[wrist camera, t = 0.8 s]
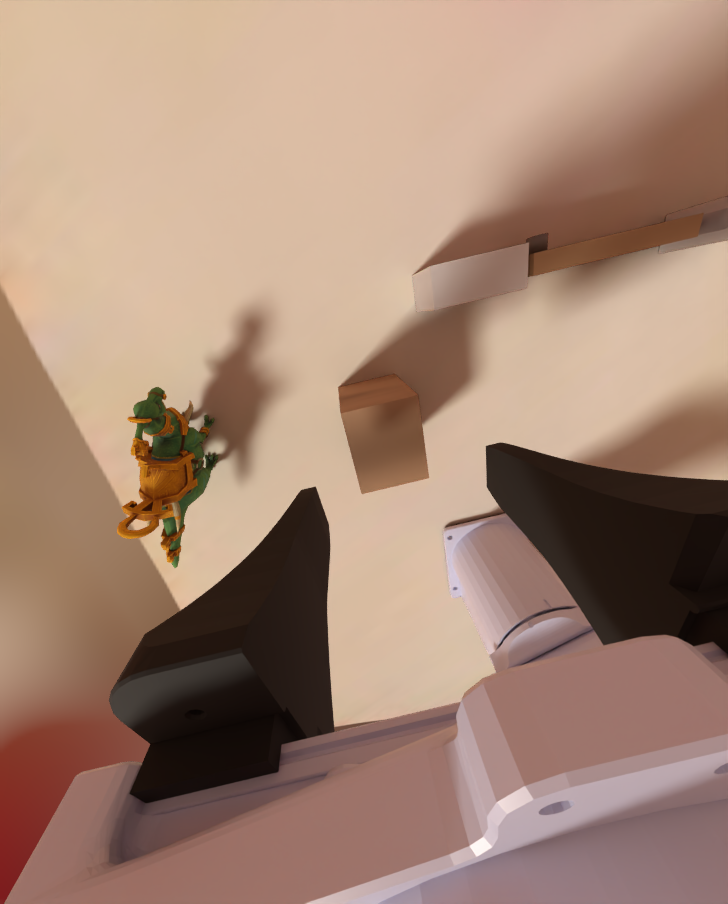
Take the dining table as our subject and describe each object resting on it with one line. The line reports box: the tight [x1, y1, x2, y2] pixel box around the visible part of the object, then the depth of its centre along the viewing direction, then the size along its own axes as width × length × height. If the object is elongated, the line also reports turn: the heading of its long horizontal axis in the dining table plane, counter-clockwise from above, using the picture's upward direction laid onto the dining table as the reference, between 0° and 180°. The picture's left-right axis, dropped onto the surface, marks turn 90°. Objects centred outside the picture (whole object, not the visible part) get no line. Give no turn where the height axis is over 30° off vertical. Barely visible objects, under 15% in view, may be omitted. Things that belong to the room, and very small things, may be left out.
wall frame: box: [412, 196, 728, 312], centre depth 16 cm, size 2×20×4 cm, turn 102°
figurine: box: [117, 387, 218, 568], centre depth 17 cm, size 3×12×8 cm, turn 170°
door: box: [526, 213, 704, 277], centre depth 16 cm, size 2×9×3 cm, turn 102°
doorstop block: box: [338, 374, 429, 494], centre depth 18 cm, size 5×4×6 cm
